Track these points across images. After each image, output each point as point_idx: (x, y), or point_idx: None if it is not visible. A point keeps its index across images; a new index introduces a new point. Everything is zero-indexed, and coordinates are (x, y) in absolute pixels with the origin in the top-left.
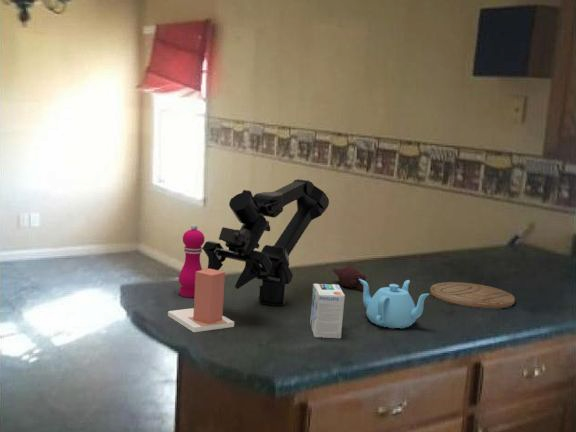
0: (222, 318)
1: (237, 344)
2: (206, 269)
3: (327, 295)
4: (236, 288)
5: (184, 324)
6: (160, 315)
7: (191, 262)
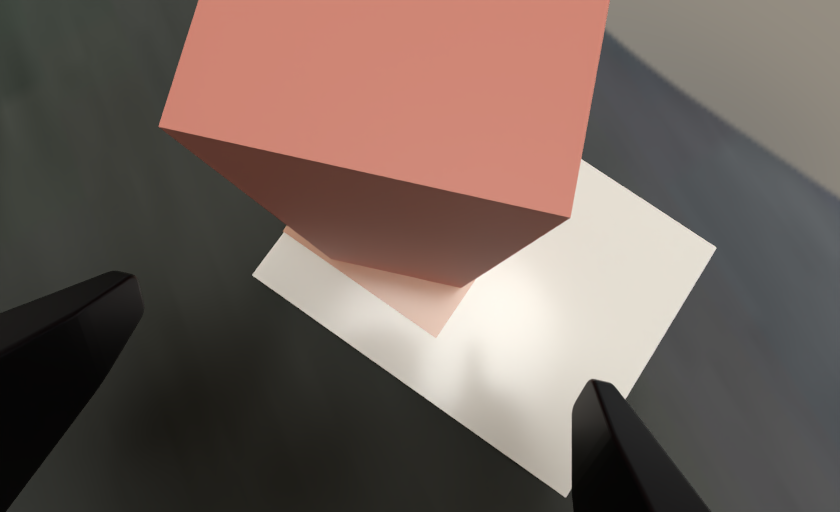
0: (348, 300)
1: (134, 21)
2: (563, 109)
3: None
4: (135, 296)
5: None
6: (737, 237)
7: None
